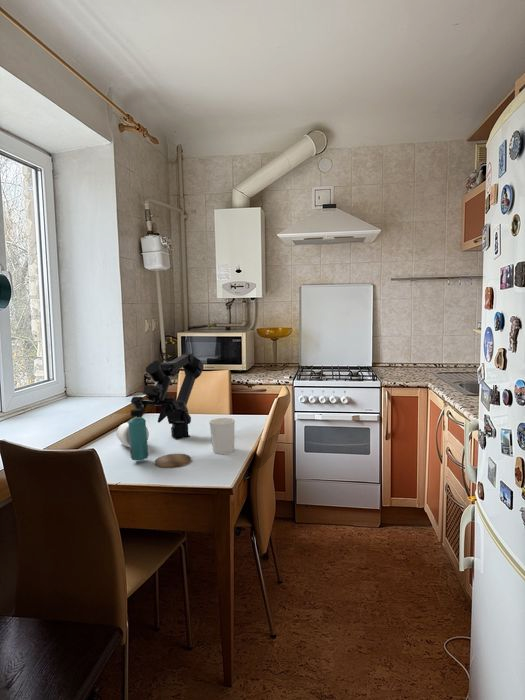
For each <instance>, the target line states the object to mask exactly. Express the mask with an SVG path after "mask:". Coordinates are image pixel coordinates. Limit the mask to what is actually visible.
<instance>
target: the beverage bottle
mask: <svg viewBox="0 0 525 700" xmlns="http://www.w3.org/2000/svg"><path fill="white" fill-rule="evenodd" d="M140 415H142V410H141V409H136V408H133V409H130V417H132V418H130V419H129V421H128V424H129V437H130V447H129V450H130V458H131V460H132V461H135V462H136V461H143V460H146V459H148V458H149V454H150V453H149V444H148V440H147V434H146V427H147V422H146V419H145V418H144V417H143V415H142V417H137V416H140Z"/></svg>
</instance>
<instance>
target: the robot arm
mask: <svg viewBox="0 0 525 700" xmlns="http://www.w3.org/2000/svg"><path fill="white" fill-rule="evenodd" d="M182 368H183V371H184V375H185V376H184V377H183V381H182V384H181V386H180V389H179V392H178V394H177V398H175V397H174V396H170V397H169V396H168V393H167V392H168V389H169V387H170V386H173V382H172V379H171V377H176V375H177V374H179V370H181V369H182ZM203 370H204V364H203V362H202V361H201V359H199V358H197V357H196V356H194V355H193V354H192V353H182V354H180V356H178V357H176V358H174V359H172V360H171V361H164V362H160V361H159V360H153V361H152V362H151V363H149V364H148V365H147V366H146V368H145V372H146V373H147V375H148V377H149V378H150V379H151V380H152V382H155V383H154V385H152V384H151V385H150V384H149V385H145V384H144V385H143V387H142V394H143V395H146V396H145V397H146V399H145V398H144V397H143V396H132V398H131V400H130V403H131V404H132V405H133V406H134V409H141V410H142V415H140V416H136V417H142V418H143V416H144V413H145V412H146V408H147V406H155V407H157V406H158V407H159V406H160V407H161V411H160V412H159V415H158V418H157V423H159V424H160V423H161V422H162V421H163V420H164V419H166V417H167V421H168V425H171V428H170V430H171V431H170V434H171V435H170V437H171V438H173V439H175V440H182V439H187V438H190V437H191V435H190V434H189V425H190V424H191V423H192V417H191V415H190V414H189V409H188V406H187V405H188V401H189V399H190V396H191V393H192V390H193V388H194V384H195V381H196V380H197V379H198V378H199V377H200V376H201V375H202V373H203Z"/></svg>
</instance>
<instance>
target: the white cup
mask: <svg viewBox="0 0 525 700" xmlns="http://www.w3.org/2000/svg"><path fill="white" fill-rule="evenodd" d="M235 422H236V421H235V419H234V418H231V417H230V418H229V417H220V418H215V419H210V420H209V429H210V435H211V437H210V438H211V447H212V452H213V453H214V454H218V455H226V454H231V453H233V452H234V451H235Z"/></svg>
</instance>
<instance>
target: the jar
mask: <svg viewBox="0 0 525 700" xmlns="http://www.w3.org/2000/svg"><path fill="white" fill-rule="evenodd" d="M128 422H129V421H128ZM128 422H123V423H122V424H121V423H120V425H119V426H118V428H117V431H116V437H117V440H119V442H120V443H121V444H122V445H123V446H125V447H128V448H130V437H129V424H128ZM146 434H147V441H148V440H149V438H150V437H149V436H150V432H149V429H148V427H147V426H146Z"/></svg>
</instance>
